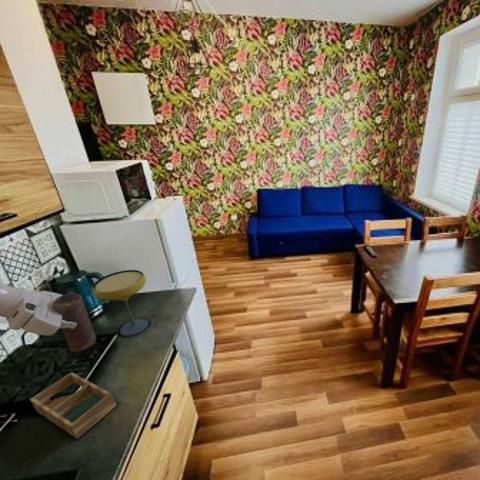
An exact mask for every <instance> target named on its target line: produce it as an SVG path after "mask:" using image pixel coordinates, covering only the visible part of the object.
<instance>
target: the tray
mask: <svg viewBox="0 0 480 480" xmlns="http://www.w3.org/2000/svg"><path fill="white" fill-rule="evenodd" d="M73 383H76V384H78V385H80V386H82V388H81V389H80V390H78V391H77V392H75V393H74V394H71V395H67V396H62V397H59V398H54V399H53V400H50V398H51V397H52V396H54V395H55V394H56V393H58V392H60V391H62V390H63V389H65V388H67V387H68V386H70V385H71V384H73ZM29 401H30V402H31V404H32V406H33V407H34V409H35V411H36V412H37V413H39V414H40V415H41V416H43V417H44V418H46V419H47V420H49V421H50V422H51V423H53V424H54V425H56V426H57V427H59V428H60V429H62V430H63V431H65V432H66V433H68V434H69V435H70V436H72V437H73V438H75V439H76V440H78V439H79V438H81V437H82V436H83V435H84V434H85V433H87V431H89V430H90V428H92V427H94V425H96V424H97V423H98V422H99V421H100V420H102V419H103V418H104V417H105V416H106V415H107V414H108V413H110V412H111V411H112V410H113V409H114V408H116V407H117V403H116V401H115V399H114V396H113V394H112V392H109V391H108V390H105V389H104V388H102V387H100V386H98V385H97V384H94V383H93V382H91V381H90V380H87V379H86V378H83V377H82V376H79V375H78V374H76V373H74V372H73V371H71V372H69V373H68V374H66V375H64V376H63V377H62V378H60V379H59V380H57V381H55V382H54V383H53V384H51V385H50V386H48V387H46V388H44V389H43V390H41V391H40V392H39V393H37V394H36V395H34V396H32V397H31V398H29Z"/></svg>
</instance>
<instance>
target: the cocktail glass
mask: <svg viewBox="0 0 480 480" xmlns="http://www.w3.org/2000/svg"><path fill="white" fill-rule="evenodd" d="M145 285H146V276H145V274H144V272H143V271H140V270H137V269H128V270H127V269H126V270H121V271H116V272H112V273H110V274H107V275H105V276H103V277H101V278H99V279H97V280H96V281H95V282H94V283H93V285H92V289H91V290H92V293H93V295H94V297H96V298H97V299H99V300H102V301H119V300H120V301H122V302H124V303H125V305H126V309H127V311H128V315H129V319H130V321H129V322H127V323H125V324H123V326H122V327H121V328H120V330H119V333H120V335H122V336H124V337H125V336H126V337H129V336H134V335H137V334H139V333H141V332H143V331H144V330H145V329H147V328H148V326H149V320H148V319H144V318H138V319H134V318H133V315H132V312H131V309H130V307H129V304H128V300H129V299H130V297H132V296H134V295H135V294H137V293H138V292H139V291H141V290H142V289H143V288H144V287H145Z"/></svg>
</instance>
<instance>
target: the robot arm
mask: <svg viewBox="0 0 480 480" xmlns="http://www.w3.org/2000/svg"><path fill="white" fill-rule="evenodd" d="M62 295H63V294H60V293H57V292H52V291H48V290H41V291H40V290H36V291H33V290H29V289H26V288H23V287H14V286H11V285H9V284H7V283H5V282H2V281H0V318H5V320H6V321H7V323H8V327H9V329H10V330H13V331H20V330H23V331H25V332H26V333H31V334H35V335H39V336H47V337H48V336H53V335H54V334H55V333H57V331H58V330H59V329H62V328H72V329H74V328H75V327H76V326H77V322H75V321H71V322H65V320H62V316H63V315H62V314H60V313H58V312H57V311H56V310H55V309H54V307H53V301H54V300H55V299H56V298H58V297H60V296H62Z"/></svg>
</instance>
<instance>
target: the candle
mask: <svg viewBox="0 0 480 480" xmlns="http://www.w3.org/2000/svg"><path fill="white" fill-rule="evenodd" d="M61 295H62V296H60V297H58V298H56V299H55V300H54V301H53V307H54V309H55V310H56V311H57V312H58V313H60V314H62V315H63V316H62V320H65V322H71V321H75V322H77V326H76V327H75V328H74V329H72V328H61V330H62V332H63V335H64V337H65V340H66V342H67V345H68V348H69V350H70V352H72V353H79V352H82V351H84V350H85V349H88V348H90V347H92V346H93V345H94V344H95V343H96V342H97V336H96V333H95V330H94V328H93V324H92V322H91V320H90V317H89V313H88V310H87V308H86V305H85V303H84V300H83V297H82V295H81V294H79V293H76V292H75V293H74V292H73V293H67V294H61Z"/></svg>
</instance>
